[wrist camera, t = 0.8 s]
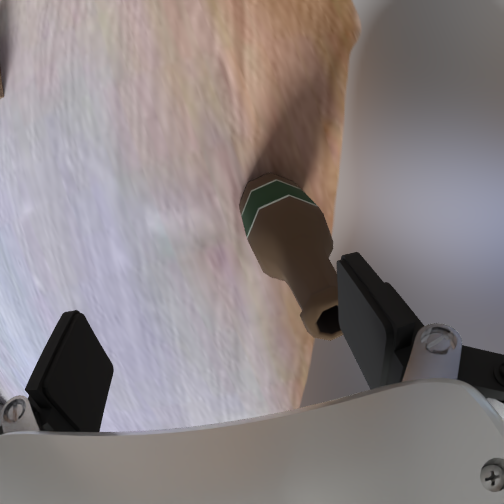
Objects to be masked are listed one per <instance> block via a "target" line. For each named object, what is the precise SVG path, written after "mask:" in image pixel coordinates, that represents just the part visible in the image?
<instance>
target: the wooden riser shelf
mask: <svg viewBox="0 0 504 504" xmlns="http://www.w3.org/2000/svg"><path fill="white" fill-rule="evenodd" d="M2 97H4V93H3V86H2V78H1V69H0V99H1V98H2Z"/></svg>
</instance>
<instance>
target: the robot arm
mask: <svg viewBox="0 0 504 504" xmlns="http://www.w3.org/2000/svg"><path fill="white" fill-rule="evenodd" d="M337 282H338V313H339V325H340V329H341V331H342V333H343V335H344V337H345V339H346V340H347V343H348V345H349V347H350V348H351V350H352V352H353V355H354V357H355V359H356V361H357V363H358V365H359V367H360V369H361V371H362V373H363V375H364V377H365V379H366V381H367V383H368V385H369V387H370V389H371V390H368V391H364V392H360V393H357V394H353V395H350V396H346V397H343V398H339V399H335V400H331V401H327V402H323V403H319V404H315V405H311V406H307V407H302V408H298V409H294V410H289V411H285V412H280V413H275V414H270V415H265V416H260V417H255V418H249V419H243V420H237V421H231V422H224V423H217V424H210V425H202V426H194V427H185V428H175V429H163V430H149V431H130V432H99V431H100V426H101V421H102V417H103V413H104V408H105V404H106V400H107V396H108V392H109V388H110V384H111V380H112V376H113V371H114V370H113V365H112V363H111V361H110V359H109V358H108V356H107V354H106V353H105V351H104V349H103V348H102V346H101V344H100V343H99V341H98V339H97V337H96V336H95V334H94V332H93V330H92V329H91V327H90V325H89V323H88V321H87V319H86V317H85V316H84V314H82V313H80V312H79V311H77V310H75V311H69V312H64V313H63V314H62V316H61V318H60V320H59V321H58V323H57V325H56V327H55V329H54V331H53V333H52V334H51V336H50V338H49V340H48V342H47V344H46V346H45V348H44V350H43V352H42V354H41V356H40V358H39V360H38V362H37V364H36V366H35V368H34V371H33V373H32V375H31V377H30V379H29V381H28V384H27V386H26V388H25V391H26V392H27V393H28V394H29V397H28V399H27V398H26V397H25V396H21V395H19V396H15V397H13V398H11V399H10V400H9V401H7V402H6V404H5V405H4V406H3V408H2V410H1V414H0V420H1V424H2V425H1V426H0V504H504V355H502V354H498V353H493V352H489V351H485V350H480V349H476V348H472V347H467V346H463V345H462V338H461V336H460V334H459V333H458V332H457V331H456V330H455V329H454V328H452V327H450V326H448V325H445V324H438V323H434V324H428V325H426V326H424V325H423V324H422V323H421V321H420V320H419V319H418V318H417V316H416V315H415V314H414V312H413V311H412V310H411V309H410V308H409V306H408V305H407V304H406V303H405V301H404V300H403V299H402V298H401V296H400V295H399V294H398V293H397V292H396V290H395V289H394V288H393V287H392V286H391V285H390V284H389V283H387V282H385V283H384V282H383V281H382V280H381V279H380V277H379V276H378V275H377V274H376V273H375V272H374V270H373V269H372V268H371V267H370V265H369V264H368V263H367V262H366V261H365V260H364V258H363V257H362V256H361V255H360V254H359V253H358V252H355V253H350V254H346V255H342V257H341V260H339V261H337Z"/></svg>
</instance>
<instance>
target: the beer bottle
mask: <svg viewBox="0 0 504 504" xmlns="http://www.w3.org/2000/svg"><path fill="white" fill-rule="evenodd" d="M239 208H240V212H241V216H242V220H243V224H244V228H245V232H246V236H247V239H248V242H249V244H250V246H251V248H252V250H253V252H254V254H255V256H256V258H257V260H258V262H259V264H260V266H261V268H262V270H263V272H264V273H265V274H267V275H268V276H270V277H272V278H276V279H279V280H283V281H285V282H286V283H287V284H288V285H289V287H290V288H291V290H292V292H293V294H294V296H295V298H296V300H297V302H298V304H299V305H300V307H301V309H302V312H301V314H300V317H301V319H302V321H303V323H304V326H305V328H306V330H307V332H308V333H309V334H310V335H312V336H313V337H314V338H320V339H324V340H330V341H331V340H333V339H335V338H337V337H340V336H342V335H343V333H342V331H341V329H340V325H339V313H338V282H337V273H336V271H335V269H334V267H333V266H332V264H331V262H330V260H329V256H330V254H331V252H332V250H333V240H332V237H331V234H330V231H329V228H328V226H327V223H326V220H325V217H324V214H323V213H322V211H321V210H320V208H319V207H318V206H317V205H316V204H315V203H314V202H313V201H312V200H311V199H310V198H309V197H308V196H307V195H306V194H305V193H304V192H303V191H302V190H301V189H300V188H299V187H298V186H297V185H296V184H295V183H294V182H292V181H291V180H288V179H285V178H283V177H280V176H277V175H275V174H272V173H268V174H266V175H263V176H261V177H259V178H257V179H255V180H252V181H250V182H248V183H247V186H246V188H245V191H244V193H243V196H242V199H241V201H240V204H239Z"/></svg>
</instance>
